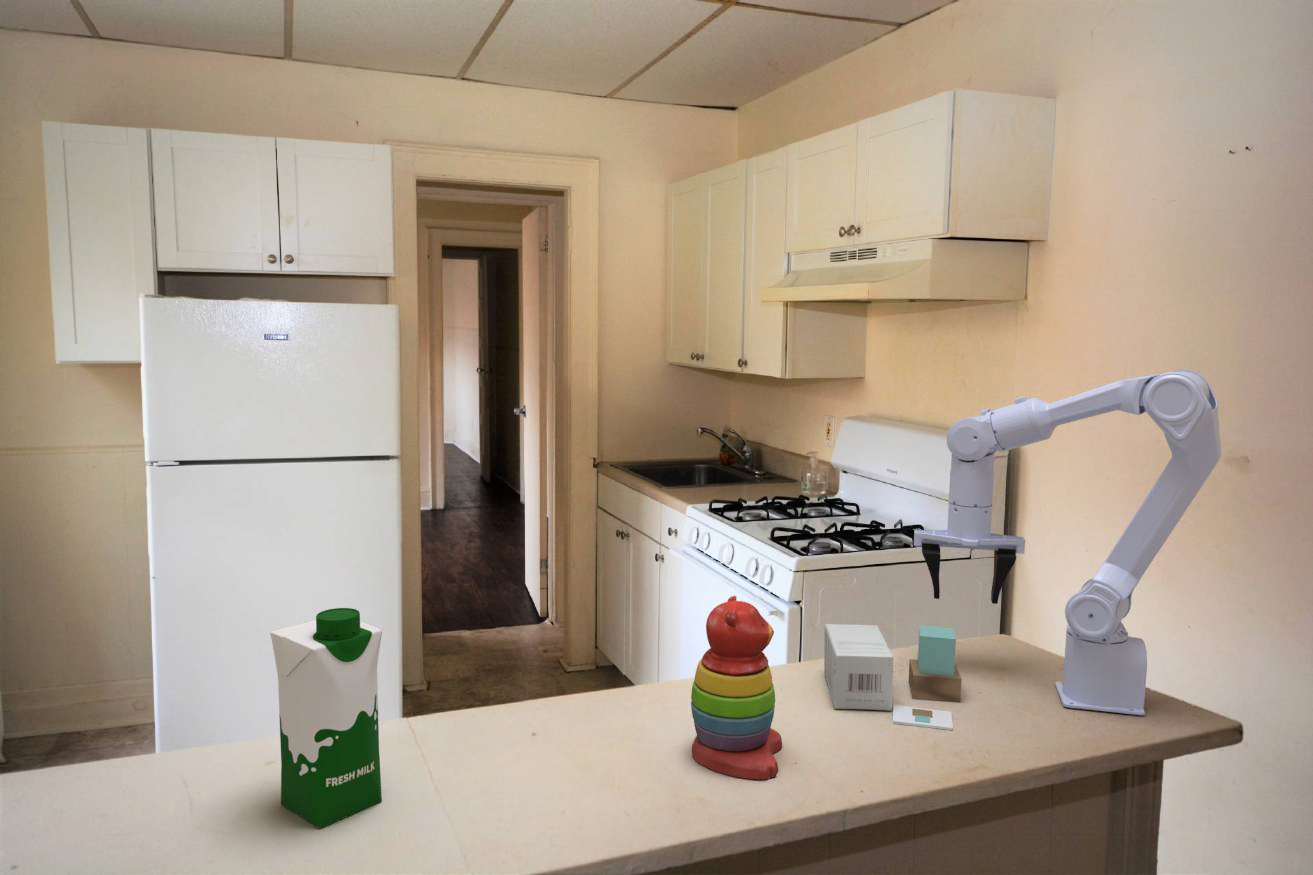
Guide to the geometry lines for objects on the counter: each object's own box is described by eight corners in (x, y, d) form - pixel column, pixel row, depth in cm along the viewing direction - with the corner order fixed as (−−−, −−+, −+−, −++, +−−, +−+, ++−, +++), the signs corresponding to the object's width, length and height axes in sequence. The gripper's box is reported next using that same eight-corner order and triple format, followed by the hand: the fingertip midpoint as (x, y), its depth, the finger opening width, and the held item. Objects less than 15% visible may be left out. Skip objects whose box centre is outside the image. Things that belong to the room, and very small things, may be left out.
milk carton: (316, 836, 88) (309, 630, 86) (266, 804, 94) (259, 610, 92) (395, 801, 95) (391, 608, 93) (344, 773, 101) (339, 591, 98)
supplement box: (892, 712, 118) (877, 674, 131) (894, 655, 118) (878, 623, 130) (833, 711, 119) (823, 673, 132) (834, 654, 118) (824, 622, 131)
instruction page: (951, 713, 118) (951, 710, 118) (952, 730, 114) (952, 727, 113) (893, 707, 120) (893, 704, 120) (892, 723, 115) (892, 720, 115)
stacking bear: (776, 782, 100) (781, 620, 98) (682, 772, 102) (685, 613, 100) (783, 739, 111) (787, 591, 108) (698, 730, 113) (700, 585, 110)
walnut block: (954, 687, 128) (955, 662, 127) (960, 704, 122) (961, 678, 122) (908, 683, 129) (909, 659, 128) (912, 700, 123) (913, 675, 123)
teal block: (952, 664, 127) (954, 628, 126) (953, 676, 122) (955, 639, 122) (917, 660, 128) (919, 625, 127) (917, 672, 124) (919, 635, 123)
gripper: (916, 505, 128) (911, 602, 130) (1029, 512, 125) (1023, 612, 126) (915, 496, 135) (911, 588, 137) (1023, 502, 131) (1018, 597, 133)
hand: (965, 599), depth 132 cm, fingers open, 7 cm apart
